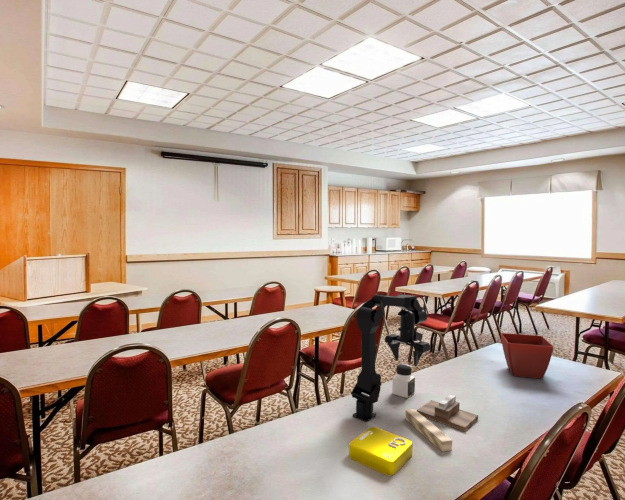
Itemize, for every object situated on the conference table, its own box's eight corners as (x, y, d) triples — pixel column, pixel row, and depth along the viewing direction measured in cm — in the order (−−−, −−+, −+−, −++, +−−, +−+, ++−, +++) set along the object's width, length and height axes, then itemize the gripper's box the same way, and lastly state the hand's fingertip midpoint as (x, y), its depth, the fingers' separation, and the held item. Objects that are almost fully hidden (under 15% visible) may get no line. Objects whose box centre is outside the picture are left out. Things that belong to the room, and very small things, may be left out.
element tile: (371, 437, 126) (372, 423, 126) (414, 455, 117) (415, 439, 116) (346, 458, 115) (346, 442, 114) (391, 479, 105) (391, 462, 105)
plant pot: (506, 377, 180) (507, 342, 179) (499, 364, 198) (500, 332, 197) (552, 382, 174) (554, 346, 173) (540, 368, 192) (542, 335, 192)
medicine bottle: (408, 398, 156) (408, 369, 155) (391, 394, 160) (392, 365, 159) (414, 392, 161) (415, 364, 161) (399, 388, 166) (399, 361, 165)
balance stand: (465, 431, 130) (465, 412, 130) (416, 414, 142) (417, 396, 142) (478, 419, 139) (478, 401, 138) (431, 403, 151) (431, 387, 151)
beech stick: (451, 451, 119) (452, 440, 119) (442, 452, 118) (442, 441, 118) (413, 418, 140) (413, 408, 140) (405, 419, 139) (405, 409, 139)
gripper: (438, 327, 154) (437, 365, 155) (400, 319, 168) (399, 354, 169) (422, 331, 147) (421, 371, 148) (384, 322, 161) (383, 359, 162)
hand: (406, 363), depth 157 cm, fingers open, 9 cm apart
